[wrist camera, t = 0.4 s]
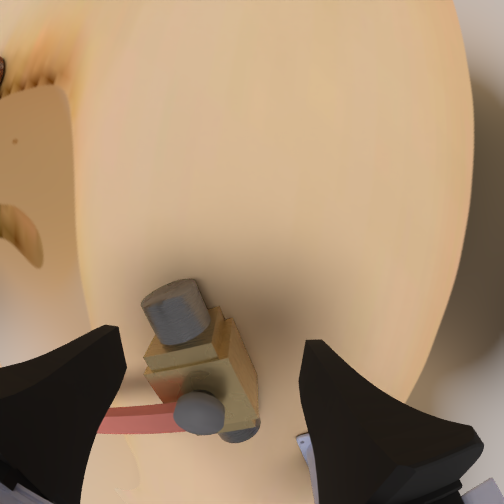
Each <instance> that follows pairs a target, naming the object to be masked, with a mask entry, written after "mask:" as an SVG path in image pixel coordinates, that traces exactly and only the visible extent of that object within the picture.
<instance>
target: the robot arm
mask: <svg viewBox="0 0 504 504" xmlns="http://www.w3.org/2000/svg"><path fill="white" fill-rule="evenodd" d="M126 369H127V365H126V361H125V356H124V352H123V347H122V343H121V338H120V333H119V327H117V326H110V325H103V326H101V327H99V328H97V329H94V330H92V331H91V332H89V333H87V334H85V335H83V336H81V337H79V338H77V339H75V340H73V341H71V342H70V343H67V344H65V345H63V346H61V347H59V348H57V349H55V350H53V351H51V352H49V353H47V354H44V355H42V356H39V357H37V358H34V359H31V360H28V361H25V362H22V363H18V364H14V365H10V366H6V367H2V368H0V504H80V499H81V491H82V485H83V479H84V474H85V470H86V465H87V462H88V458H89V455H90V451H91V448H92V445H93V442H94V439H95V436H96V434H97V431H98V429H99V427H100V425H101V423H102V421H103V419H104V417H105V415H106V413H107V411H108V409H109V407H110V405H111V404H112V402H113V400H114V398H115V396H116V394H117V392H118V390H119V388H120V386H121V383H122V380H123V378H124V375H125V372H126ZM299 390H300V398H301V404H302V408H303V412H304V416H305V420H306V424H307V428H308V432H309V433H307V434H304V435H300V436H298V437H297V438H296V440H297V443H298V445H299V447H300V450H301V452H302V454H303V456H304V458H305V461H306V463H307V465H308V467H309V472H310V478H311V484H312V490H313V496H314V502H315V504H504V497H503V495H502V494H501V492H500V490H499V488H498V486H497V484H496V483H495V481H494V479H493V478H489V479H488V480H486V481H484V482H483V483H481V484H480V485H478V486H476V487H474V488H473V489H471V490H470V491H468V492H466V493H465V494H464V495H462V496H460V493H459V492H458V490H460V489H461V488H462V483H461V482H460V480H459V479H460V478H461V477H462V476H463V475H464V474H465V473H466V472H467V470H468V469H469V468H470V467H471V466H472V465H473V464H474V463H475V462H476V461H477V459H478V458H479V457H480V455H481V454H482V452H483V449H484V444H483V442H482V441H481V439H480V438H479V436H478V435H477V433H476V432H475V430H474V429H473V427H472V426H469V425H464V424H460V423H456V422H451V421H447V420H444V419H440V418H437V417H435V416H431V415H429V414H426V413H423V412H421V411H419V410H416V409H414V408H412V407H410V406H408V405H406V404H404V403H402V402H400V401H398V400H396V399H394V398H393V397H391V396H390V395H388V394H386V393H385V392H383V391H382V390H380V389H378V388H377V387H376V386H374V385H373V384H371V383H370V382H369V381H367V380H366V379H365V378H364V377H362V376H361V375H360V374H359V373H357V372H356V371H355V370H354V369H353V368H352V367H350V366H349V365H348V364H347V363H346V362H345V361H344V360H343V359H342V358H341V357H340V356H338V355H337V354H336V353H335V352H334V351H333V350H332V349H331V348H330V347H329V346H328V345H327V344H326V343H325V342H324V341H323V340H306V342H305V348H304V354H303V359H302V365H301V370H300V376H299Z"/></svg>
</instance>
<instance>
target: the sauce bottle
mask: <svg viewBox="0 0 504 504" xmlns="http://www.w3.org/2000/svg"><path fill="white" fill-rule="evenodd" d="M3 72H4V61H3V59H2V58H1V57H0V83H1V80H2V77H3Z"/></svg>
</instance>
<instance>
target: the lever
mask: <svg viewBox="0 0 504 504" xmlns="http://www.w3.org/2000/svg"><path fill="white" fill-rule="evenodd" d="M224 419H225V407H224V405H223V404H222V403H221V402H220V401H219V400H218V399H217V398H215V397H213V396H211V395H208V394H205V393H199V392H192V393H187V394H184V395H182V396H181V397H179V399H178V400H177V402H173V403H164V404H155V405H145V406H133V407H117V408H109V409H108V411H107V413H106V415H105V417H104V419H103V421H102V423H101V425H100V427H99V429H98V431H97V433H102V434H154V433H172V432H184V431H187V432H190V433H193V434H198V435H211V434H215V433H217V432H219V431H220V430H221V429H222V428H223V426H224Z"/></svg>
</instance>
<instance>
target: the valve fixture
mask: <svg viewBox="0 0 504 504" xmlns="http://www.w3.org/2000/svg"><path fill="white" fill-rule="evenodd" d="M141 307H142V309H143V311H144V313H145V315H146V317H147V319H148V321H149V323H150V324H151V326H152V328H153V330H154V332H155V334H156V335H155V336H154V338H153V340H152V342H151V344H150V346H149V348H148V350H147V351H146V353H145V355H144V357H143V358H144V360H145V361H146V363H147V365H148V367H147V369H146V371H145V373H144V376H145V377H146V379H147V380H148V382H149V383H150V385H151V386H152V388H153V389H154V391H155V392H156V394H157V395H158V396H159V398H160V399H161V401H162V402H163V403H173V402H177V400H178V399H179V397H181V396H182V395H184V394H187V393H192V392H199V393H205V394H208V395H211V396H213V397H215V398H217V399H218V400H219V401H220V402H221V403H222V404H223V405H224V407H225V419H224V426H223V428H222V429H221V430H220V431H219V432H217V433H218V435H219V436H220V437H221V438H222V439H223V440H224V441H226V442H229V443H240V442H243V441H246V440H248V439H250V438H251V437H253V436H254V435H255V434H256V433H257V431H258V430H259V428H260V424H261V421H260V418H259V416H258V385H257V374H256V371H255V369H254V367H253V365H252V362H251V360H250V358H249V355H248V353H247V351H246V348H245V346H244V344H243V341H242V339H241V337H240V334H239V332H238V330H237V327H236V325H235V322H234V320H233V318H230V319H226V320H225V319H224V316H223V314H222V312H221V309H220V307H219V306H218V307H215V308H211V309H208V310H207V308H206V306H205V303H204V301H203V299H202V296H201V294H200V292H199V289H198V287H197V285H196V282H195V280H193V279H183V280H179V281H175V282H172V283H169V284H167V285H165V286H162V287H160V288H158V289H157V290H155V291H153V292H152V293H150V294H149V295H148V296H146V297H145V298H144V299H143V301H142V302H141ZM196 435H197V436H198V434H196Z"/></svg>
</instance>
